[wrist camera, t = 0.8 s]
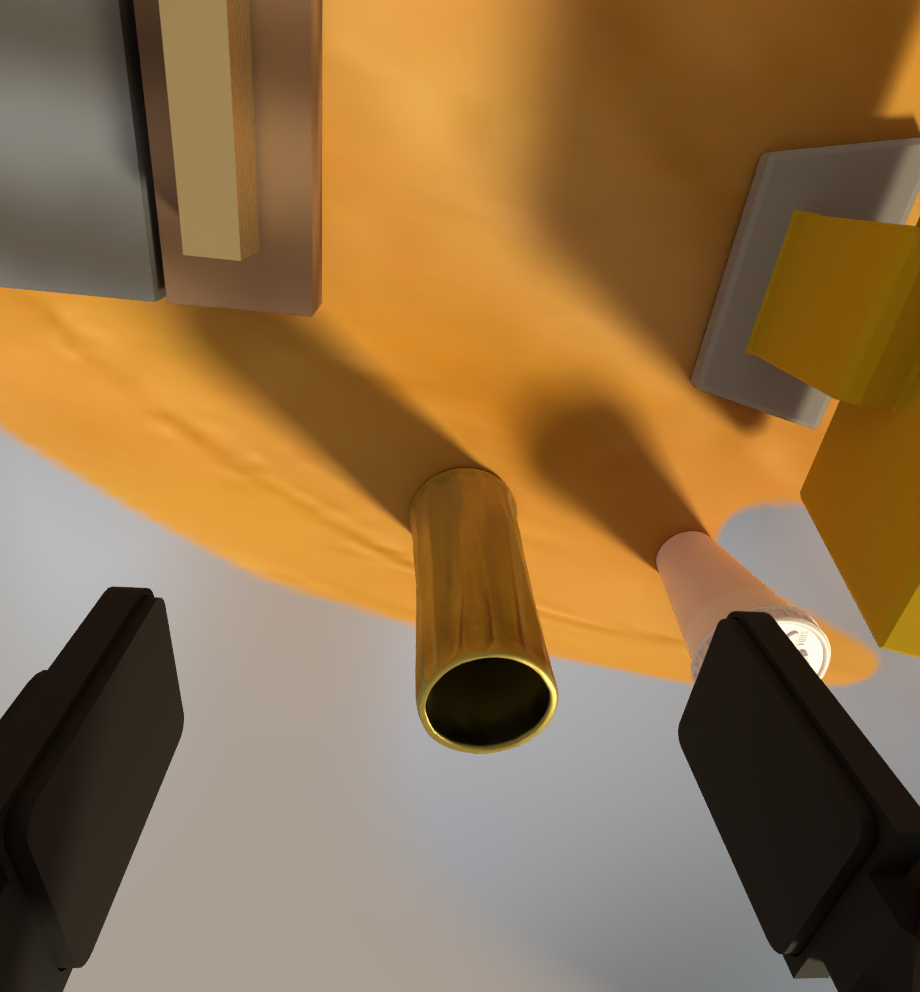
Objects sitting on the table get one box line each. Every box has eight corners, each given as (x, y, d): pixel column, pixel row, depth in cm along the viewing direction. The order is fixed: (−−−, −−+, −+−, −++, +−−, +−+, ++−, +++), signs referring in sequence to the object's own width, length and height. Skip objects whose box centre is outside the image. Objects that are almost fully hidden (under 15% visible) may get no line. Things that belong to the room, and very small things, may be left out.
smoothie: (622, 534, 36) (728, 721, 24) (728, 495, 35) (894, 669, 23) (647, 611, 39) (753, 814, 27) (745, 577, 38) (901, 770, 26)
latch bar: (158, -256, 18) (114, -329, 15) (249, -239, 18) (220, -308, 16) (200, 245, 24) (174, 254, 22) (267, 251, 25) (249, 261, 22)
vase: (397, 546, 36) (387, 750, 23) (426, 453, 33) (431, 628, 20) (496, 567, 37) (536, 773, 24) (530, 480, 34) (597, 660, 22)
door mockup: (-250, -399, 18) (-365, -496, 16) (322, -286, 20) (308, -356, 17) (-66, 265, 27) (-119, 276, 25) (321, 303, 29) (311, 316, 26)
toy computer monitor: (793, 474, 35) (1038, 674, 21) (663, 462, 34) (830, 662, 20) (971, 54, 26) (1609, -79, 12) (799, 22, 25) (1274, -159, 11)
